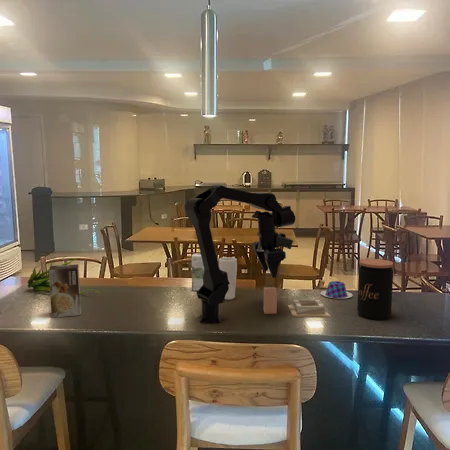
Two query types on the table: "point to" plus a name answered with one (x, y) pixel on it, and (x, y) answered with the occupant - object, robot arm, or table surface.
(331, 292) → the pudding
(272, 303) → the bracket block
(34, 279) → the decorative plant
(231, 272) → the white tumbler
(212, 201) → the robot arm
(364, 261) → the coffee jar
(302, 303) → the post socket
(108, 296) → the table surface
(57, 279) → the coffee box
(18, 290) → the table surface
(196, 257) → the syrup box
